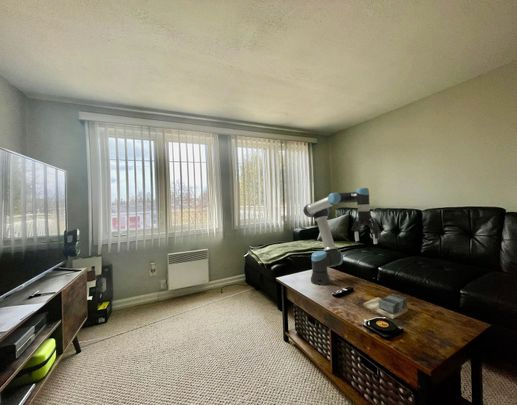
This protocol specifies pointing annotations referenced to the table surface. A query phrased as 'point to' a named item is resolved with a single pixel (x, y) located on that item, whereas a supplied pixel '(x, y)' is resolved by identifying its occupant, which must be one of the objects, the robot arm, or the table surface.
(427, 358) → the table surface
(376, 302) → the board
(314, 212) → the robot arm
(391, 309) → the stone block
